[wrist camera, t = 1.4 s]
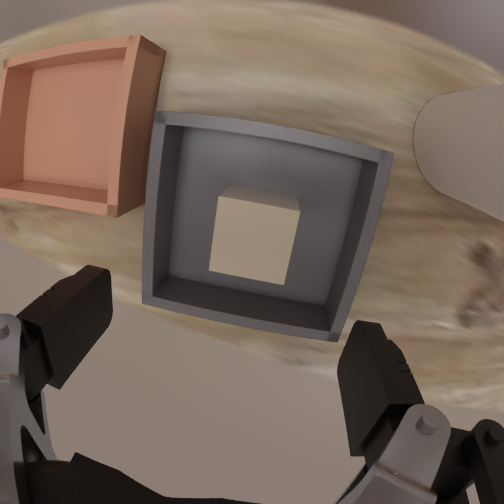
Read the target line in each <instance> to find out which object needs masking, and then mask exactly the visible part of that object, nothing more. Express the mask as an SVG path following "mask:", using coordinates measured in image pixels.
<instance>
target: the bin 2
mask: <svg viewBox="0 0 504 504" xmlns="http://www.w3.org/2000/svg"><path fill="white" fill-rule="evenodd" d="M393 155H394V153H391V152H388V151H385V150H381V149H378V148H374V147H371V146H367V145H364V144H360V143H356V142H352V141H348V140H344V139H340V138H336V137H332V136H328V135H324V134H319V133H315V132H310V131H305V130H301V129H296V128H291V127H285V126H280V125H274V124H269V123H263V122H257V121H250V120H244V119H237V118H229V117H221V116H213V115H204V114H194V113H183V112H171V111H155V117H154V123H153V131H152V138H151V146H150V155H149V164H148V174H147V185H146V197H145V211H144V228H143V253H142V304H146V305H150V306H154V307H158V308H162V309H166V310H170V311H174V312H178V313H183V314H187V315H191V316H196V317H200V318H205V319H209V320H214V321H218V322H223V323H228V324H233V325H238V326H243V327H248V328H253V329H258V330H264V331H269V332H275V333H280V334H286V335H292V336H298V337H304V338H311V339H317V340H324V341H331V342H338V340H339V337H340V335H341V332H342V329H343V327H344V324H345V321H346V319H347V316H348V313H349V310H350V308H351V305H352V302H353V299H354V296H355V293H356V290H357V287H358V284H359V281H360V278H361V275H362V272H363V269H364V266H365V263H366V260H367V256H368V253H369V250H370V246H371V243H372V240H373V236H374V233H375V229H376V225H377V222H378V218H379V214H380V211H381V207H382V203H383V199H384V195H385V191H386V187H387V182H388V178H389V174H390V169H391V165H392V160H393ZM232 184H238V185H244V186H250V187H255V188H261V189H266V190H271V191H277V192H282V193H287V194H292V195H297V199H298V204H299V208H300V215H299V220H298V224H297V229H296V234H295V238H294V243H293V247H292V251H291V256H290V260H289V264H288V269H287V273H286V277H285V282H284V285H281V284H275V283H270V282H265V281H260V280H254V279H249V278H244V277H239V276H234V275H229V274H224V273H219V272H214V271H209V265H210V257H211V249H212V241H213V233H214V226H215V218H216V211H217V204H218V197H219V195H220V194H222V193H223V192H224V191H225V190H226V189H227V188H228V187H229V186H231V185H232Z"/></svg>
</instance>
